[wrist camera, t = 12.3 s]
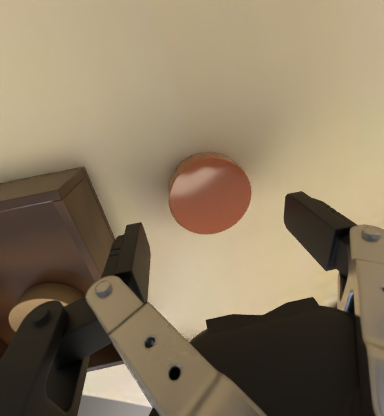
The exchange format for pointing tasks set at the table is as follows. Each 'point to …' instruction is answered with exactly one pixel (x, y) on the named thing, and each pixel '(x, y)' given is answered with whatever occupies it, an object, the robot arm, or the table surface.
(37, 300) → the cork coaster
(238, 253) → the table surface
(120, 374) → the table surface
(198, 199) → the terracotta coaster
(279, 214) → the table surface
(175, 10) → the table surface
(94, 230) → the tray
